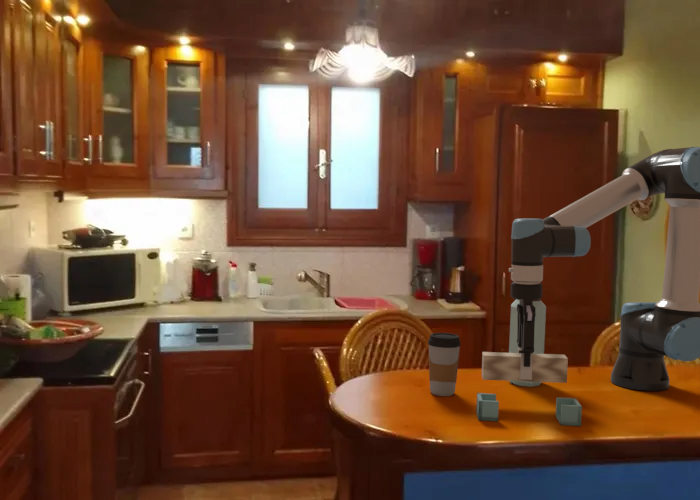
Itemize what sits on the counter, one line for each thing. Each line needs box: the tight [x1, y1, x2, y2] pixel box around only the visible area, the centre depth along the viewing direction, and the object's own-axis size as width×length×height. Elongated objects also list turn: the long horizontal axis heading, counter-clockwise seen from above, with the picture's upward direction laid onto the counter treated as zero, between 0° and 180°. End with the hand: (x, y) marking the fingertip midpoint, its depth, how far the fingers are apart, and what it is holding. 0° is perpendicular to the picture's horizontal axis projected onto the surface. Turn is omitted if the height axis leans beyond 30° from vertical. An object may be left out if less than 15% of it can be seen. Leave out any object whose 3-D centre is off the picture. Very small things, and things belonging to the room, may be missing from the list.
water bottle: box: [508, 299, 547, 388], centre depth 198 cm, size 10×10×25 cm
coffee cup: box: [427, 332, 461, 397], centre depth 186 cm, size 8×8×15 cm
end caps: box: [475, 392, 583, 427], centre depth 167 cm, size 23×7×4 cm, turn 84°
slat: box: [481, 351, 569, 384], centre depth 177 cm, size 20×4×6 cm, turn 84°
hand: (524, 376), depth 178 cm, fingers closed on slat, 4 cm apart
